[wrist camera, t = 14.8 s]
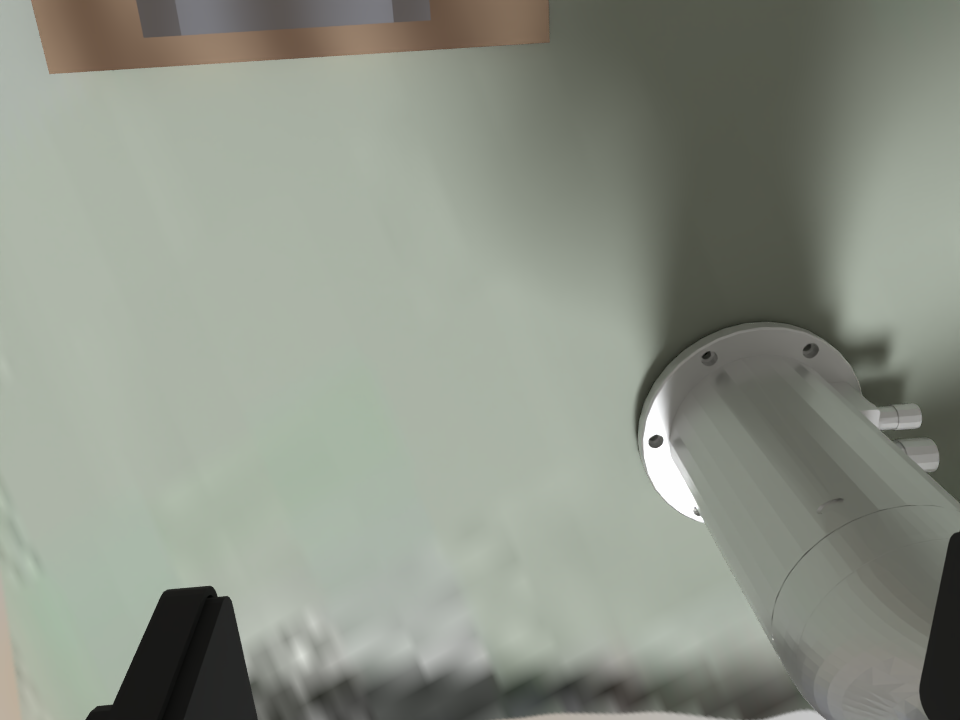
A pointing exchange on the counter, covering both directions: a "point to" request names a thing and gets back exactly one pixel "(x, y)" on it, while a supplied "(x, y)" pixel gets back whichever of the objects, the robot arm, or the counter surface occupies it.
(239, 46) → the collar stand
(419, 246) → the counter surface
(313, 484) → the counter surface
